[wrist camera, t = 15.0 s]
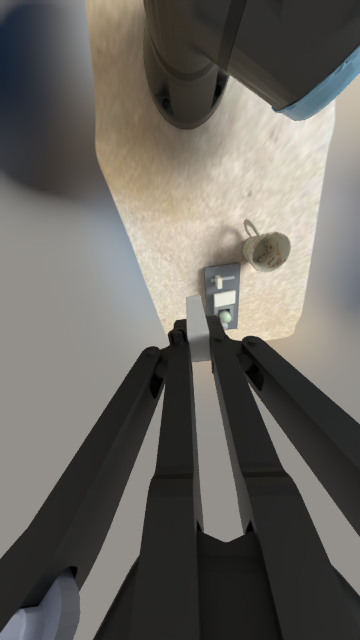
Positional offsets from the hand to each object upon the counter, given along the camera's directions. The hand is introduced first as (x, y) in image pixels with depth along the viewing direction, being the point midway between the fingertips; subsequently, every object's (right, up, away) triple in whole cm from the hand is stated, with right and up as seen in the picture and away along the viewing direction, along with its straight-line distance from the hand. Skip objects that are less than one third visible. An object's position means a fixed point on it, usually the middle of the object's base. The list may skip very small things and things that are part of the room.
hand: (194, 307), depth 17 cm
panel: (+12, +5, +34) cm, 37 cm away
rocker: (+12, +5, +30) cm, 33 cm away
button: (+13, 0, +33) cm, 35 cm away
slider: (+9, +11, +29) cm, 32 cm away
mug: (+17, +20, +26) cm, 37 cm away
